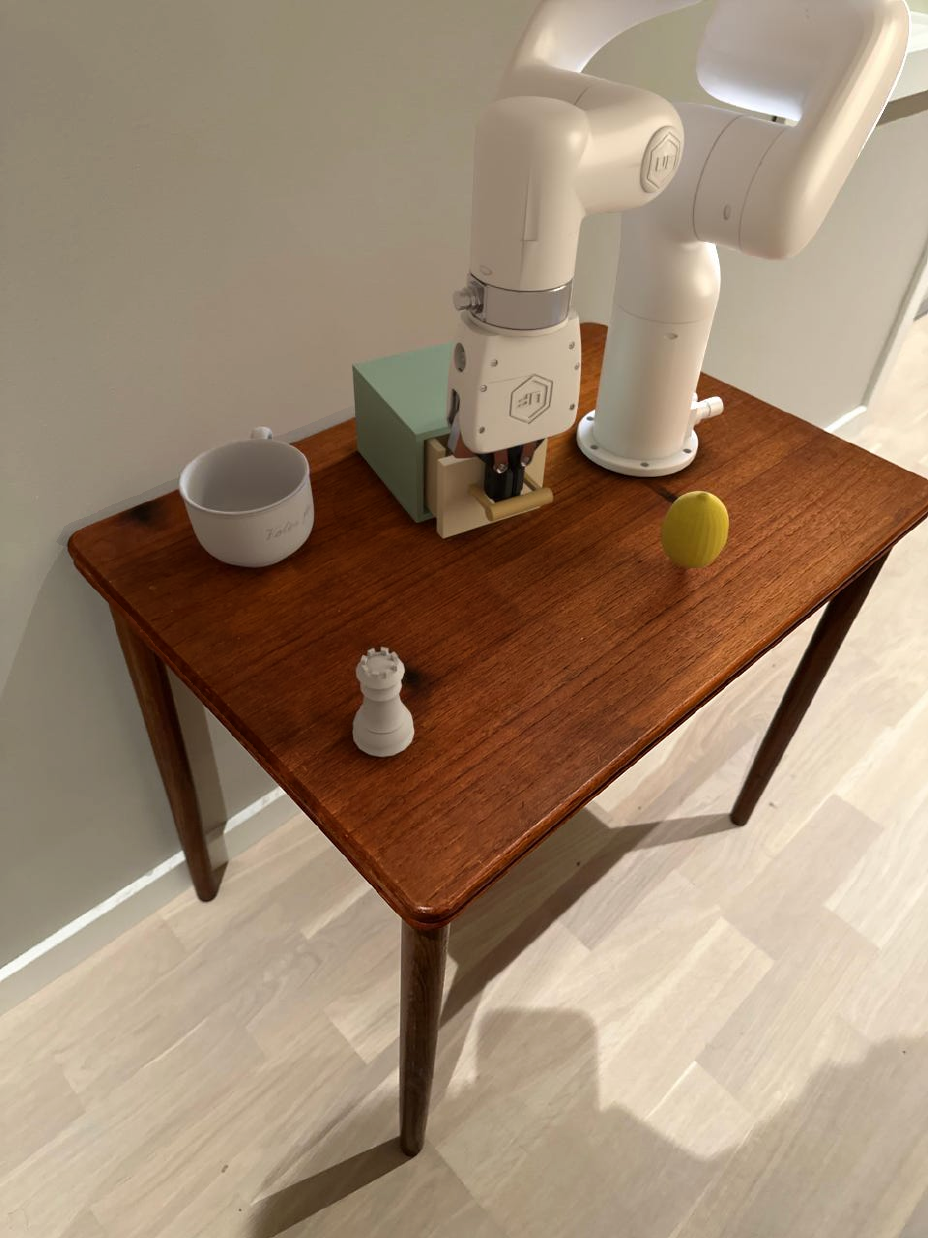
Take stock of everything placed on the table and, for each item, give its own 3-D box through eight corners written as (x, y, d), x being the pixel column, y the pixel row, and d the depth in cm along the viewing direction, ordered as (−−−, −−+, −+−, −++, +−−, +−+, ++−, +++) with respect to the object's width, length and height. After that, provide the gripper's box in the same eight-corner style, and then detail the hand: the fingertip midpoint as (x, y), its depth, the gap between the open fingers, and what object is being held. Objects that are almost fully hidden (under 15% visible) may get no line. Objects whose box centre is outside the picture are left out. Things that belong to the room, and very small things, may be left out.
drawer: (567, 536, 79) (578, 464, 73) (467, 569, 75) (471, 496, 70) (475, 441, 89) (478, 372, 84) (383, 467, 86) (380, 396, 80)
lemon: (642, 554, 79) (658, 482, 73) (693, 540, 80) (713, 468, 75) (675, 593, 75) (696, 519, 69) (728, 577, 77) (752, 504, 71)
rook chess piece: (370, 704, 65) (365, 629, 59) (424, 723, 64) (424, 648, 58) (341, 748, 62) (333, 673, 56) (398, 769, 61) (395, 694, 55)
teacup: (293, 594, 73) (283, 518, 68) (173, 573, 75) (153, 498, 69) (342, 498, 83) (337, 425, 78) (236, 482, 85) (222, 409, 79)
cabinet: (522, 490, 85) (530, 404, 78) (416, 523, 81) (415, 434, 74) (456, 423, 93) (458, 339, 87) (357, 450, 89) (351, 364, 82)
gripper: (452, 336, 58) (446, 548, 71) (633, 298, 64) (596, 501, 76) (404, 292, 63) (406, 498, 76) (576, 260, 68) (551, 458, 81)
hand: (502, 499), depth 76 cm, fingers closed
